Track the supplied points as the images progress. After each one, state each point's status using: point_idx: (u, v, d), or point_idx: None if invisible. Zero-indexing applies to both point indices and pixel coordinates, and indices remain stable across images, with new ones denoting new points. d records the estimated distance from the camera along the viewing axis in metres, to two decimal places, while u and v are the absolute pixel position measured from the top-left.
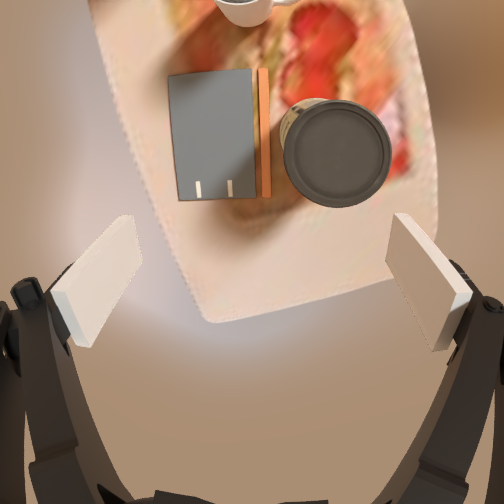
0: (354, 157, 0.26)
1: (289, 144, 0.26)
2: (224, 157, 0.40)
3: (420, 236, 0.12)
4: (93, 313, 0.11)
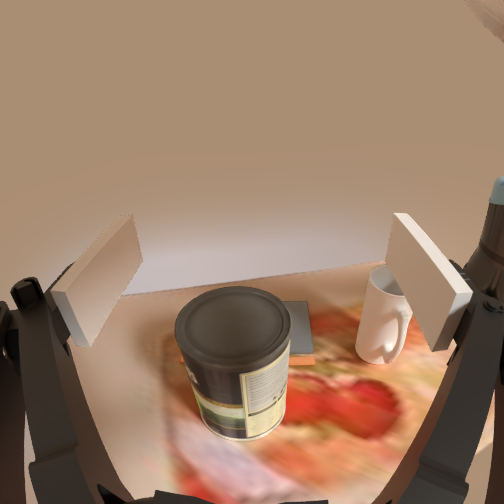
0: (230, 333, 0.25)
1: (246, 289, 0.30)
2: None
3: (420, 236, 0.12)
4: (93, 313, 0.11)
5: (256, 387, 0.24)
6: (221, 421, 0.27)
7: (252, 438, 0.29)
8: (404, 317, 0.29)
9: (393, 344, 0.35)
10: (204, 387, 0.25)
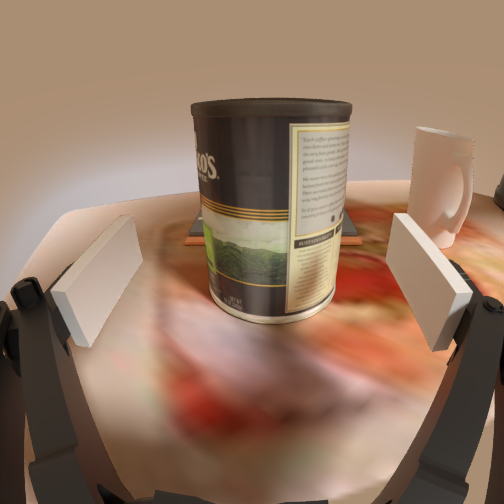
0: None
1: (282, 98, 0.22)
2: None
3: (420, 236, 0.12)
4: (93, 313, 0.11)
5: (312, 168, 0.16)
6: (248, 267, 0.19)
7: (293, 316, 0.20)
8: (468, 155, 0.21)
9: (454, 214, 0.26)
10: (228, 177, 0.16)
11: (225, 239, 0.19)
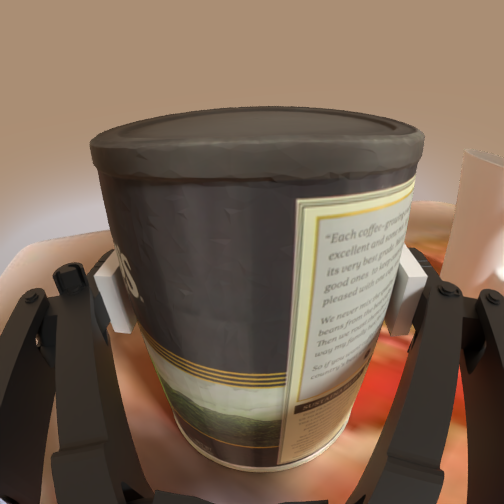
0: (250, 123, 0.08)
1: (280, 107, 0.13)
2: None
3: None
4: None
5: (345, 295, 0.07)
6: (216, 428, 0.10)
7: (289, 465, 0.12)
8: None
9: None
10: (157, 307, 0.07)
11: (174, 387, 0.10)
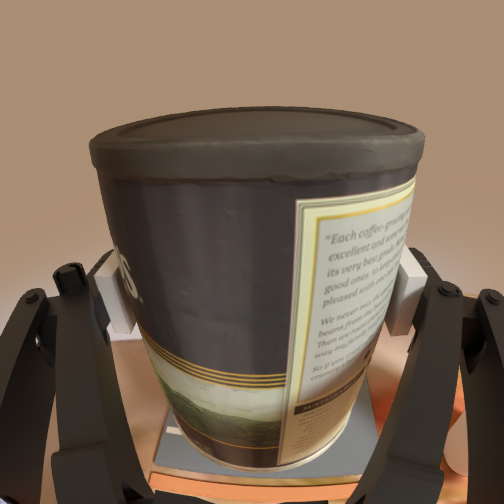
0: (249, 123, 0.08)
1: (280, 107, 0.13)
2: None
3: None
4: None
5: (345, 296, 0.07)
6: (216, 429, 0.10)
7: (289, 466, 0.11)
8: None
9: None
10: (157, 307, 0.07)
11: (174, 388, 0.10)
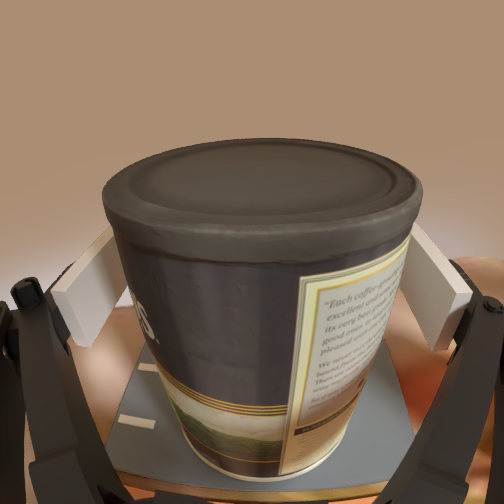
0: (256, 177, 0.09)
1: (284, 140, 0.14)
2: None
3: (420, 236, 0.12)
4: (93, 313, 0.11)
5: (341, 345, 0.07)
6: (224, 446, 0.10)
7: (289, 475, 0.12)
8: None
9: None
10: (173, 351, 0.08)
11: (185, 411, 0.10)
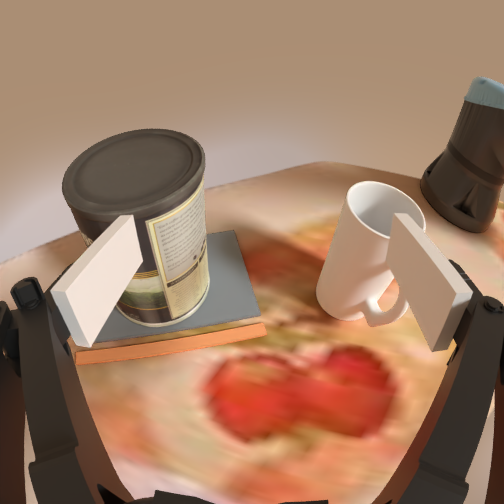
0: (128, 176, 0.18)
1: (145, 131, 0.22)
2: None
3: (420, 236, 0.12)
4: (93, 313, 0.11)
5: (170, 240, 0.20)
6: (138, 301, 0.23)
7: (178, 319, 0.27)
8: None
9: (377, 297, 0.26)
10: None
11: None
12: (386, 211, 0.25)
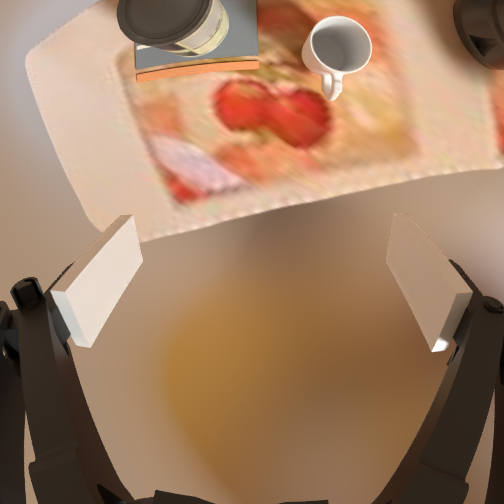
0: (161, 13, 0.23)
1: None
2: None
3: (420, 236, 0.12)
4: (93, 313, 0.11)
5: (191, 41, 0.27)
6: (175, 53, 0.32)
7: (203, 53, 0.36)
8: (335, 91, 0.29)
9: None
10: None
11: None
12: (356, 33, 0.26)
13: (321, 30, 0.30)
